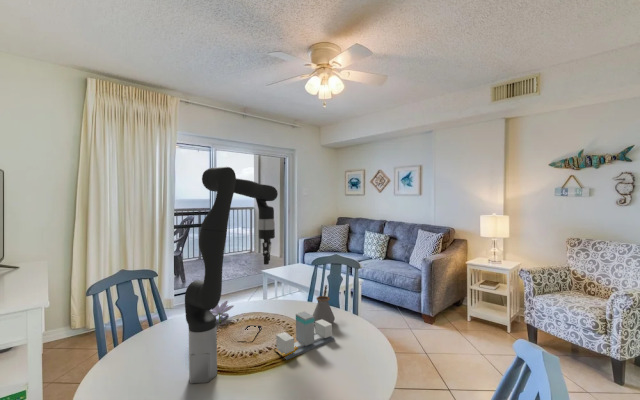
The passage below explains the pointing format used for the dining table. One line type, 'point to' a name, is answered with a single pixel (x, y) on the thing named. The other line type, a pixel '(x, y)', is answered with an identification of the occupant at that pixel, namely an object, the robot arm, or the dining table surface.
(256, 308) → the dining table surface
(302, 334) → the block
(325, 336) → the rail panel
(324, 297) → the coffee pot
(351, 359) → the dining table surface
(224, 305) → the water lily
